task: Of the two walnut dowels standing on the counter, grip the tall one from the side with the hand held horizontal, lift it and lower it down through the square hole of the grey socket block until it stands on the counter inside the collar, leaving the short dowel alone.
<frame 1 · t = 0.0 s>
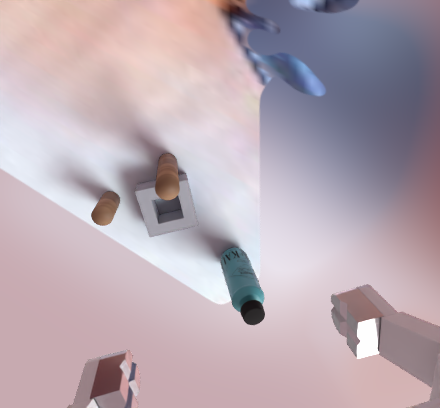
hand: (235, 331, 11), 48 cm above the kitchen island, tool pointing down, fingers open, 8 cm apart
beverage bottle: (231, 254, 67), on the kitchen island
short dowel: (110, 199, 57), on the kitchen island
socket block: (168, 200, 59), on the kitchen island
long dowel: (167, 162, 56), on the kitchen island
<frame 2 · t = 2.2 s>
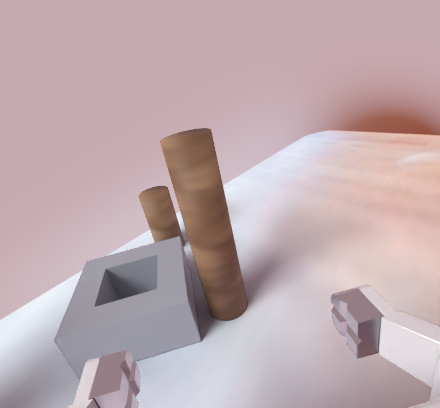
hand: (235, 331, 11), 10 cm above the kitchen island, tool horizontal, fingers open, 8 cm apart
short dowel: (171, 246, 38), on the kitchen island
socket block: (144, 314, 27), on the kitchen island
long dowel: (228, 305, 26), on the kitchen island
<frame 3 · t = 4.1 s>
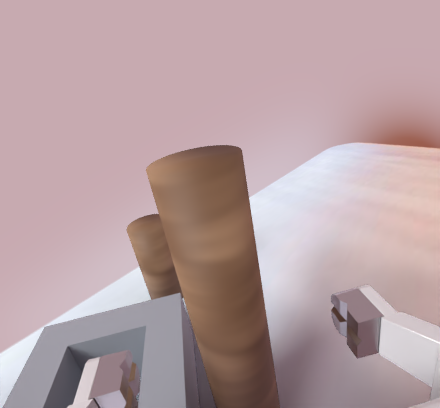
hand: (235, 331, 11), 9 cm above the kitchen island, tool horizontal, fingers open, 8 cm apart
short dowel: (169, 292, 28), on the kitchen island
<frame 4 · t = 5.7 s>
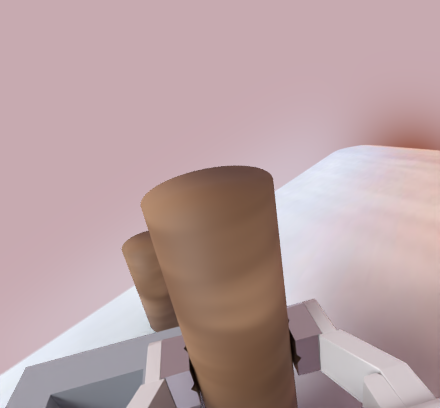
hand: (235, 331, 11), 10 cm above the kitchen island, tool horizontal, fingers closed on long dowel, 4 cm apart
short dowel: (169, 316, 26), on the kitchen island
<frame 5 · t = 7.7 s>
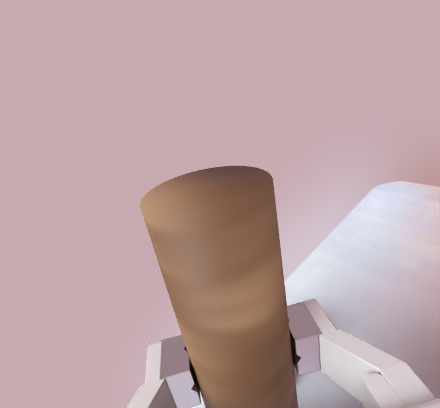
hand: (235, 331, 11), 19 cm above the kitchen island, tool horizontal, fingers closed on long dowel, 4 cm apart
when the fingers open (10 cm above the kitchen island, at t = 9.9 s): long dowel stays where it is, resting in socket block.
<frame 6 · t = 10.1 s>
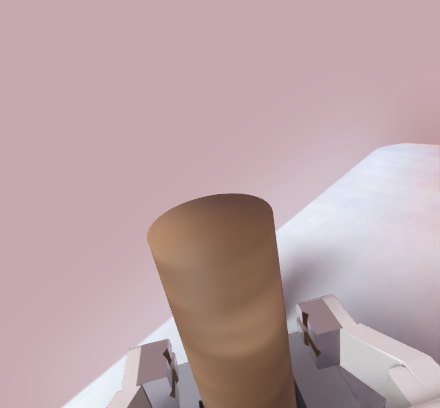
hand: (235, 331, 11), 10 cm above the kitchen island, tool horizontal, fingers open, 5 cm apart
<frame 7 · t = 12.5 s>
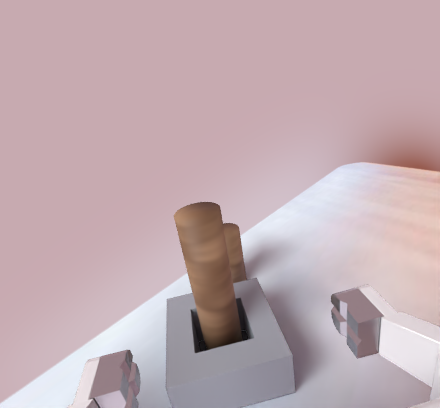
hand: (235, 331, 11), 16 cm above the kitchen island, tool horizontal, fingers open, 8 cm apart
short dowel: (233, 281, 38), on the kitchen island
socket block: (226, 356, 28), on the kitchen island
long dowel: (227, 356, 28), resting in socket block
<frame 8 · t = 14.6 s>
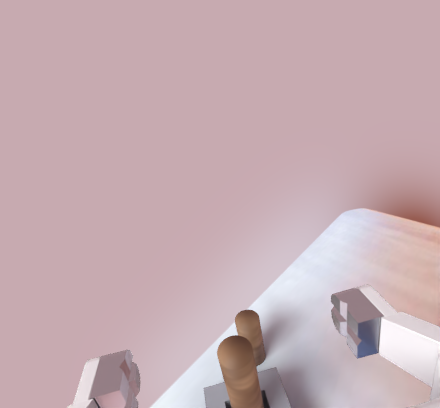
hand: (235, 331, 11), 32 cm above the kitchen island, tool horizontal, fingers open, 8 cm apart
short dowel: (253, 355, 45), on the kitchen island
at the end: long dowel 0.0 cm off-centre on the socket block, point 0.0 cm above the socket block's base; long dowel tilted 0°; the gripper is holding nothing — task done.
